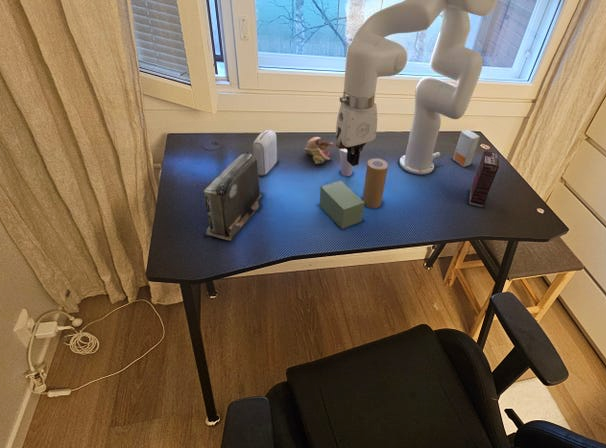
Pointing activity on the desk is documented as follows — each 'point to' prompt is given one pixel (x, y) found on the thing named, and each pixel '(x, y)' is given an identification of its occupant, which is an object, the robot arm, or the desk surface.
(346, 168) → the smoothie
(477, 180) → the supplement box
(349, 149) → the robot arm
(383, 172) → the paper roll
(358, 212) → the green block
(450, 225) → the desk surface
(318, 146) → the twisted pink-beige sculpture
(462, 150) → the cosmetic box
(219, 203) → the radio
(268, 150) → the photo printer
